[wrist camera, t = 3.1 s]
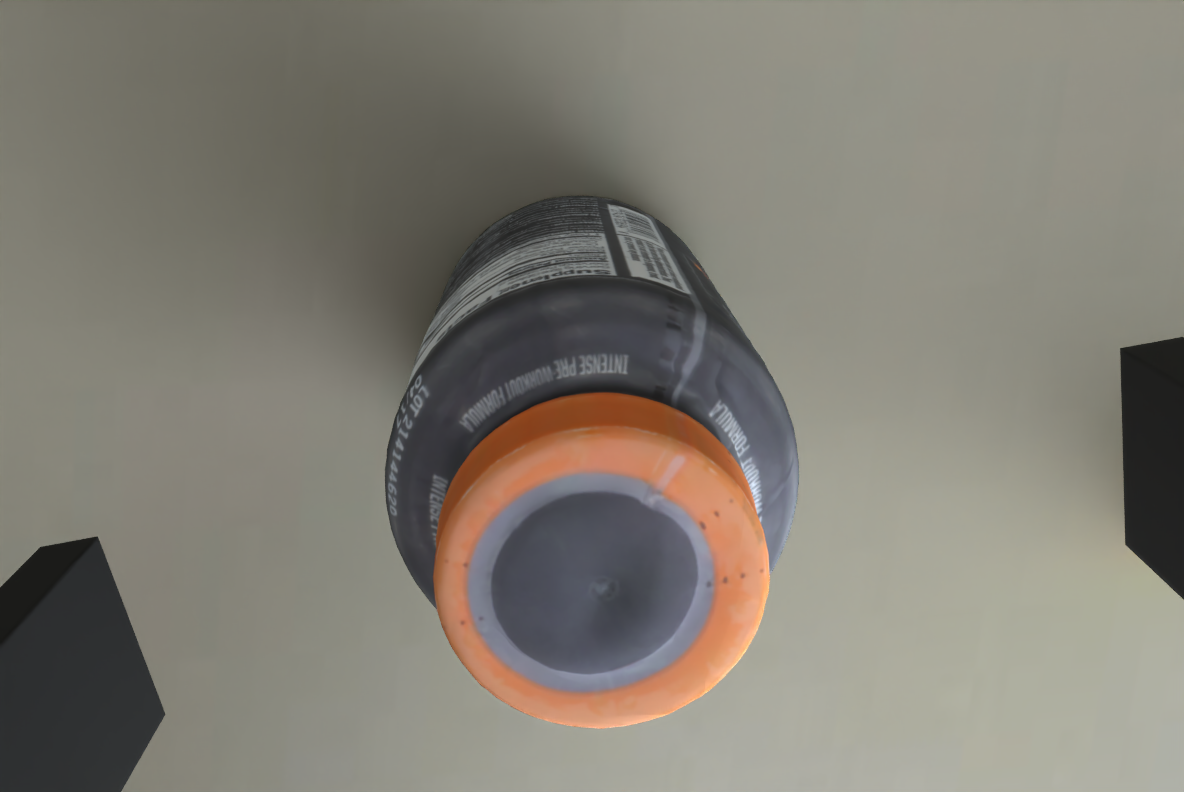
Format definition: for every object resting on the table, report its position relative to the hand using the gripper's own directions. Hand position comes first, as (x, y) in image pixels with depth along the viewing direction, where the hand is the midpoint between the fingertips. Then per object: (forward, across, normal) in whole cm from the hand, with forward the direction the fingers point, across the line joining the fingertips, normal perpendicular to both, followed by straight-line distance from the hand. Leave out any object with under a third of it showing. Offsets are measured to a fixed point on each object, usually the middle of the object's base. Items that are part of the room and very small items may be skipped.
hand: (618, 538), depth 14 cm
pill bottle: (+10, 0, 0) cm, 10 cm away
